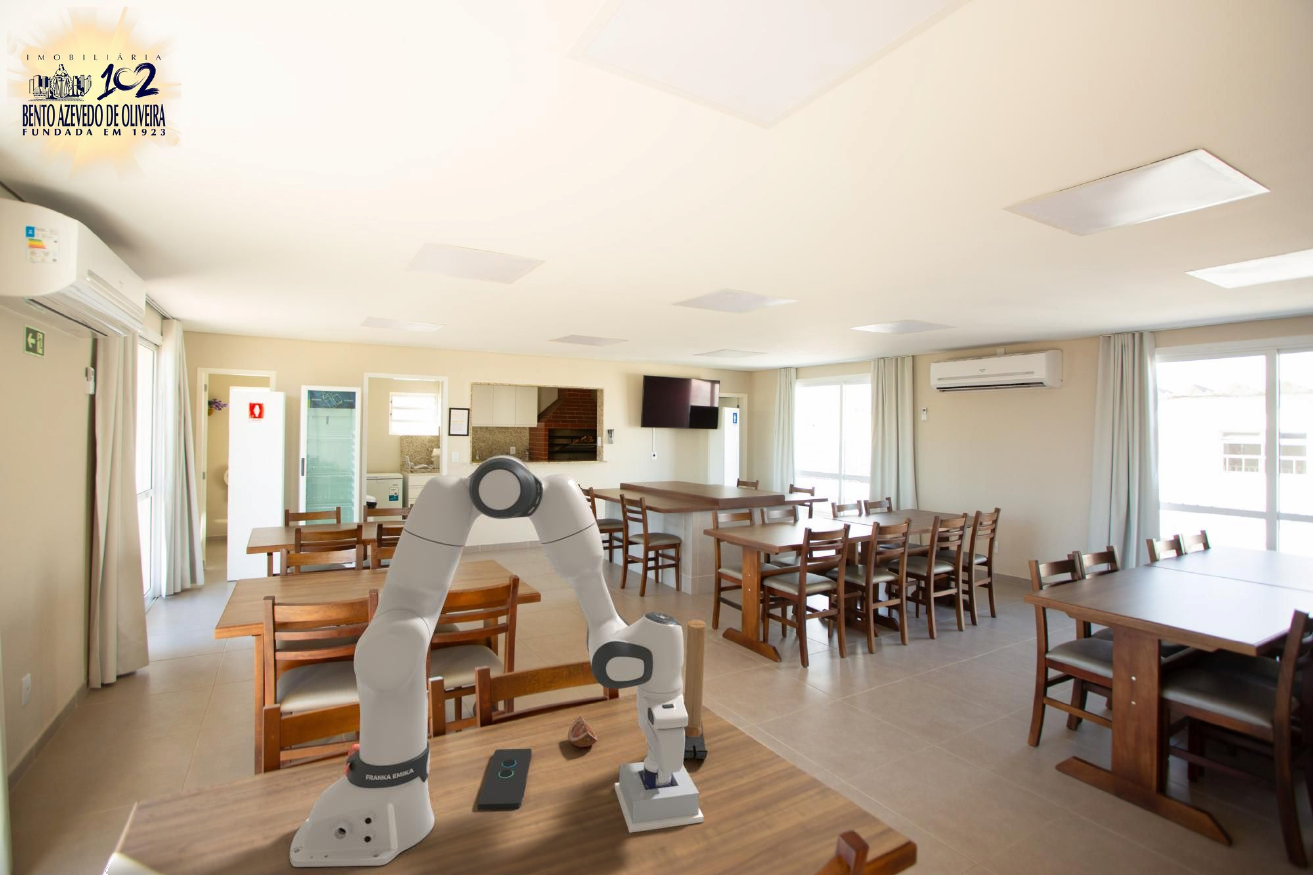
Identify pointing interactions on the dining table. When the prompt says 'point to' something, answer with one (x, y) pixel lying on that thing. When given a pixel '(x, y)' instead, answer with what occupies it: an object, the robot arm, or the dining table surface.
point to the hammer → (694, 690)
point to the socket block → (656, 800)
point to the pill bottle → (653, 773)
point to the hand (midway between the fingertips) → (657, 770)
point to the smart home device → (505, 780)
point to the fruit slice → (581, 733)
